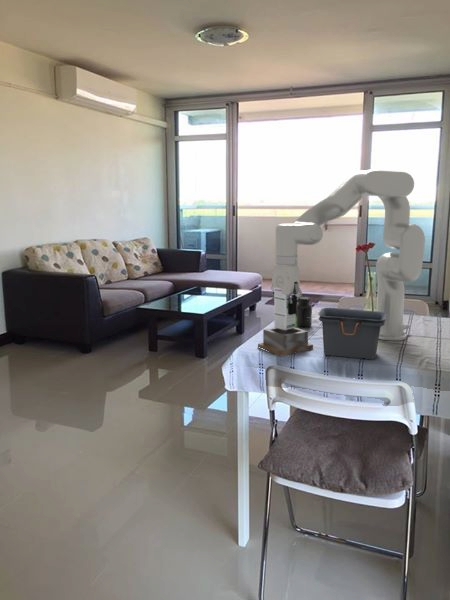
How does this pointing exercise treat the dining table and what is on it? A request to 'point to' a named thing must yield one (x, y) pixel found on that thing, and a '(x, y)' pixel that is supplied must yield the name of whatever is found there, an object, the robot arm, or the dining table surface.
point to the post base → (285, 341)
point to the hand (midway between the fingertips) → (285, 311)
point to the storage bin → (351, 332)
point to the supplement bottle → (304, 313)
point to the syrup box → (283, 311)
